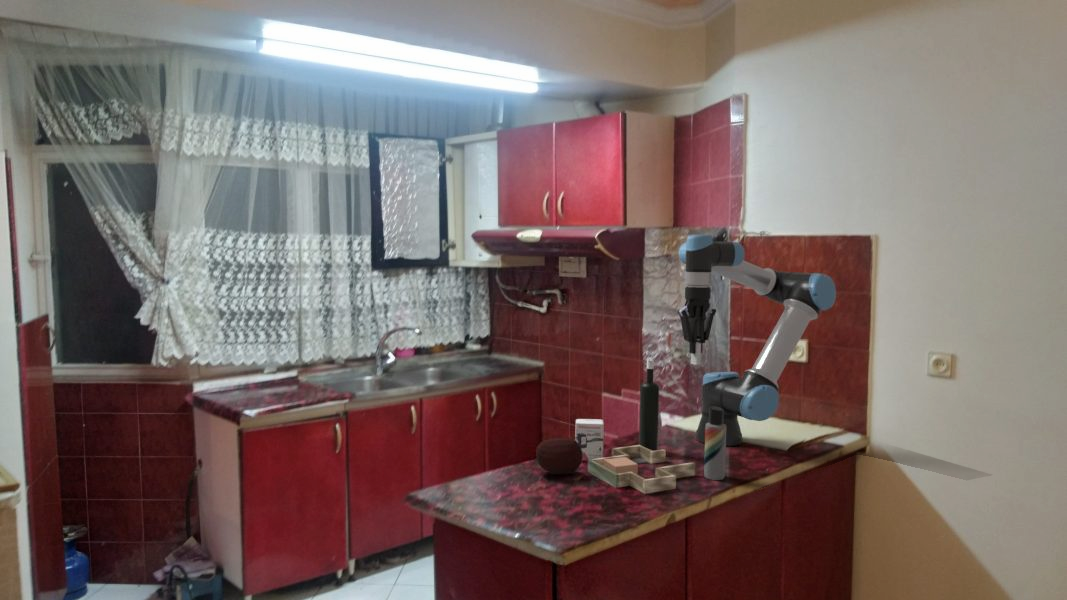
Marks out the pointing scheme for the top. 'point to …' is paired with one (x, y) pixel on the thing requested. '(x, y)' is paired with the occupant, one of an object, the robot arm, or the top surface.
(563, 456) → the potato
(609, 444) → the top surface
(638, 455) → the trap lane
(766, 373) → the robot arm
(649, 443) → the wine bottle
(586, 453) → the ink box
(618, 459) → the block
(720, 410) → the lotion bottle
